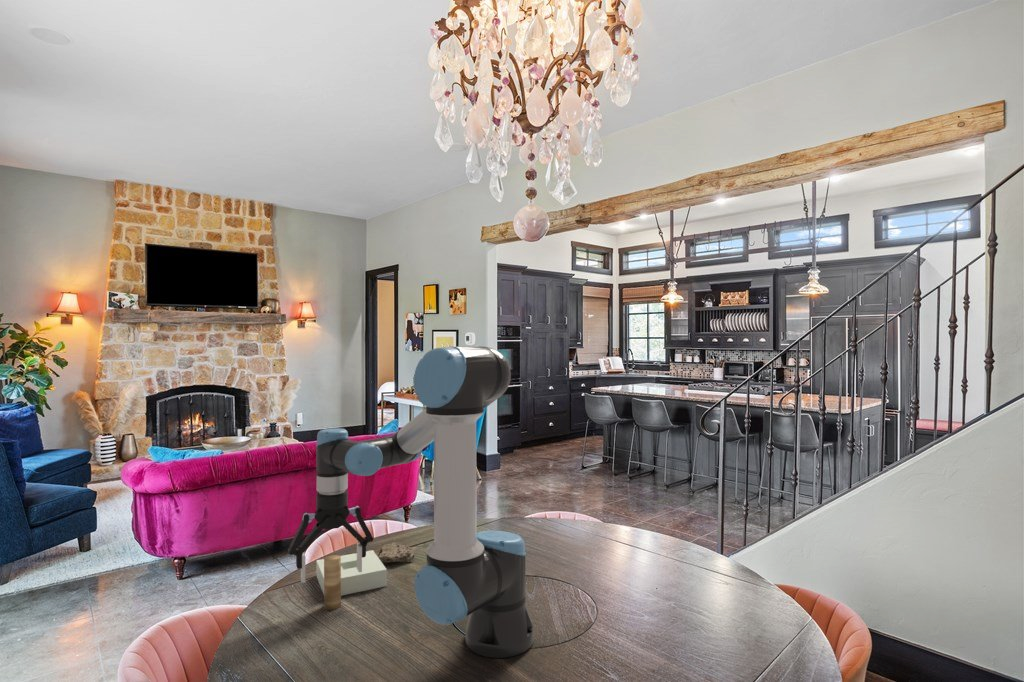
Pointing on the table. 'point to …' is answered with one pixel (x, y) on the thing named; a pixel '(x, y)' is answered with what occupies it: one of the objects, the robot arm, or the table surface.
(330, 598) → the dowel
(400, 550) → the rock
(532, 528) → the table surface
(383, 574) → the socket block
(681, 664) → the table surface
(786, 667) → the table surface
